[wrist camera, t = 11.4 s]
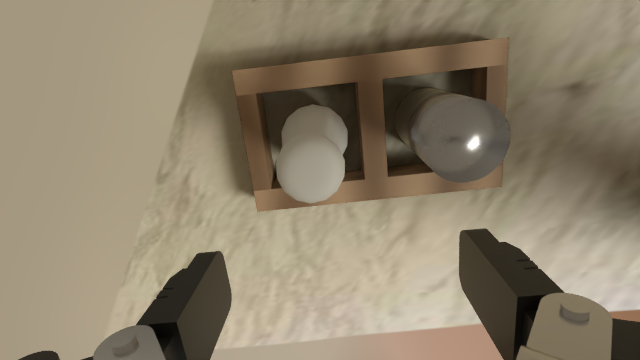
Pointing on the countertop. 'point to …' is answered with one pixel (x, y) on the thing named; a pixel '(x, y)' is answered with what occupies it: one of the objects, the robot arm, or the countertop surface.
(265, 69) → the spice rail
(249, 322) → the countertop surface
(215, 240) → the countertop surface
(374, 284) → the countertop surface
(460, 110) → the pepper shaker
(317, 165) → the salt shaker
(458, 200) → the countertop surface
